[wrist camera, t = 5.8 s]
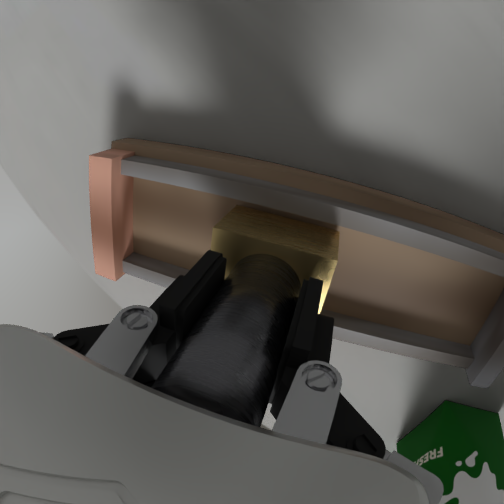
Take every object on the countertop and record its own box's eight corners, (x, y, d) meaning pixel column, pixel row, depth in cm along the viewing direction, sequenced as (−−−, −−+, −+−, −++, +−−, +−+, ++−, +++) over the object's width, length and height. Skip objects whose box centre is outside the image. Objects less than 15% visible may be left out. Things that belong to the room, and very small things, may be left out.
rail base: (127, 137, 17) (82, 149, 14) (533, 247, 13) (563, 280, 10) (126, 254, 21) (91, 281, 18) (476, 351, 17) (489, 393, 13)
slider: (236, 204, 15) (101, 338, 7) (339, 231, 14) (316, 416, 6) (226, 275, 17) (124, 423, 8) (318, 301, 16) (275, 481, 8)
